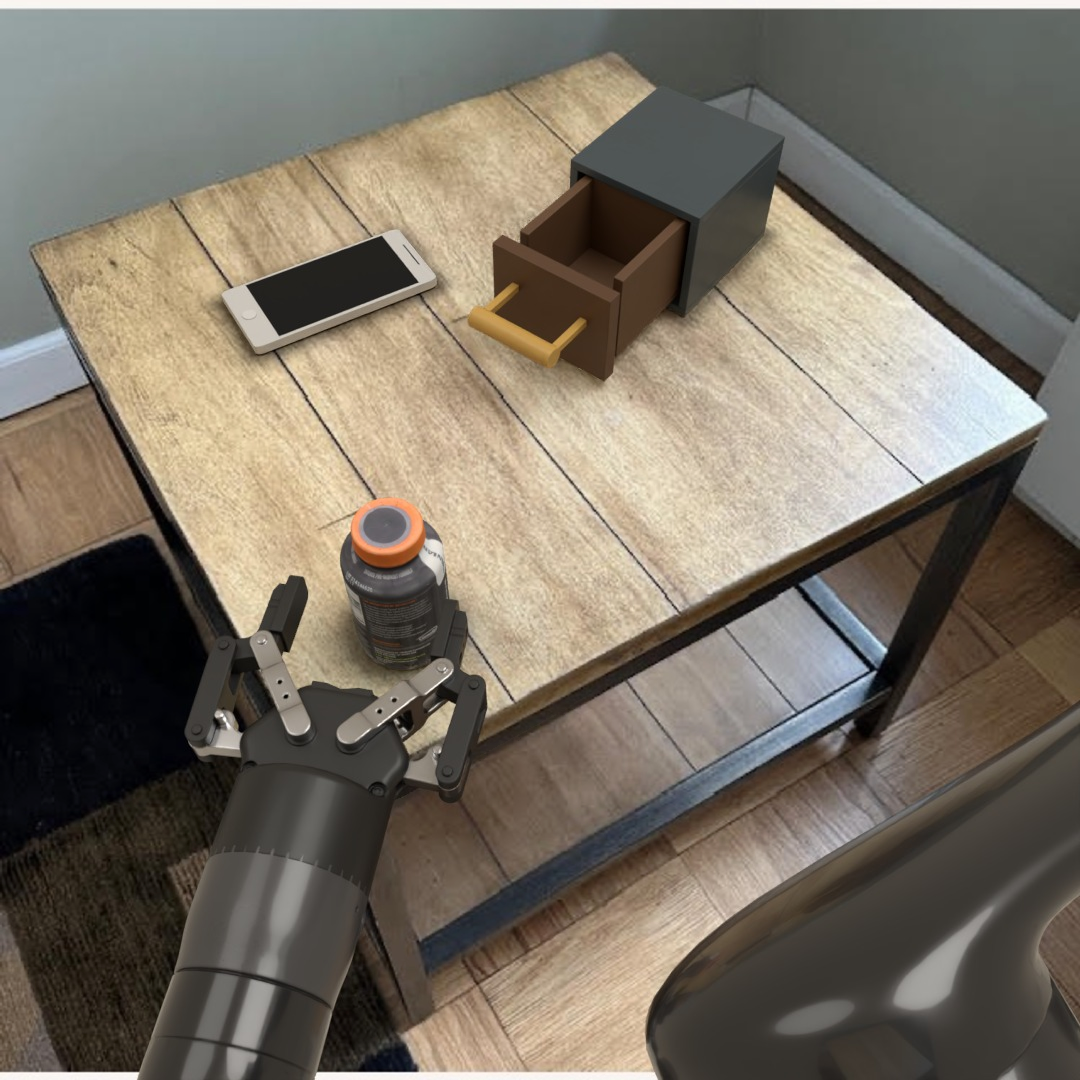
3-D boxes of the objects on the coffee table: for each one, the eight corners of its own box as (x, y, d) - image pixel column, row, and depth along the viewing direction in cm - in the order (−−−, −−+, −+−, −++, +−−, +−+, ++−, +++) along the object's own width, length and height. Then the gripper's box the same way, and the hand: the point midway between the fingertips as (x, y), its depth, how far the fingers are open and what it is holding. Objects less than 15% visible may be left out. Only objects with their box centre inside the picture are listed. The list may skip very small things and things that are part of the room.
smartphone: (222, 300, 86) (219, 291, 85) (398, 235, 91) (397, 226, 90) (257, 356, 83) (255, 347, 82) (438, 286, 87) (438, 277, 87)
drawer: (564, 423, 78) (567, 344, 72) (453, 360, 81) (446, 280, 75) (687, 298, 86) (699, 217, 79) (581, 246, 89) (585, 164, 83)
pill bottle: (469, 612, 70) (460, 503, 60) (424, 687, 66) (408, 584, 57) (387, 578, 71) (366, 467, 62) (339, 650, 68) (310, 545, 59)
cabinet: (684, 317, 86) (700, 218, 78) (566, 258, 90) (570, 159, 82) (764, 235, 92) (785, 136, 84) (650, 184, 95) (660, 84, 88)
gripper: (431, 890, 46) (503, 574, 55) (111, 834, 47) (234, 535, 57) (443, 940, 52) (506, 649, 62) (159, 889, 54) (262, 612, 63)
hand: (375, 594), depth 59 cm, fingers open, 8 cm apart
